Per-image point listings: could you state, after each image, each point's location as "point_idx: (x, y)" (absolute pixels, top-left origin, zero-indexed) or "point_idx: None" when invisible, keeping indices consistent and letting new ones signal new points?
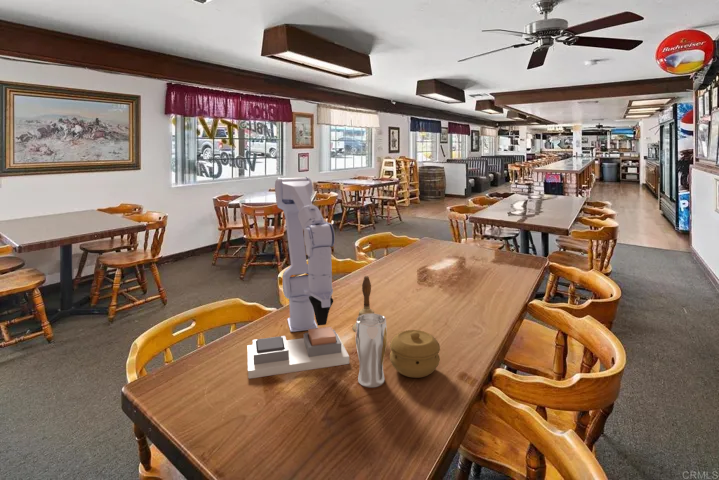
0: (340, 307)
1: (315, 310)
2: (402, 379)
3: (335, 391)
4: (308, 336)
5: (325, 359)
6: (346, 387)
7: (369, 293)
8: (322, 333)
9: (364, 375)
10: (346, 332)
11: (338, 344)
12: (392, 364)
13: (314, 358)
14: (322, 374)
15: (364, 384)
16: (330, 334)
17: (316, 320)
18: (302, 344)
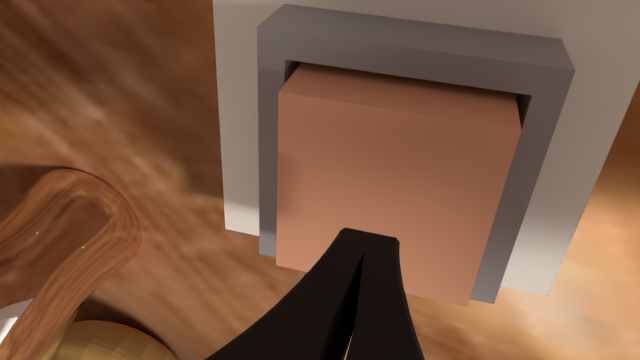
0: None
1: (222, 353)
2: (85, 305)
3: (6, 45)
4: (525, 96)
5: (220, 101)
6: (38, 105)
7: None
8: (362, 207)
9: (12, 207)
10: (619, 341)
11: (262, 234)
12: (94, 332)
13: (252, 37)
14: (166, 35)
15: (35, 180)
16: (321, 248)
17: (342, 254)
18: (522, 13)
